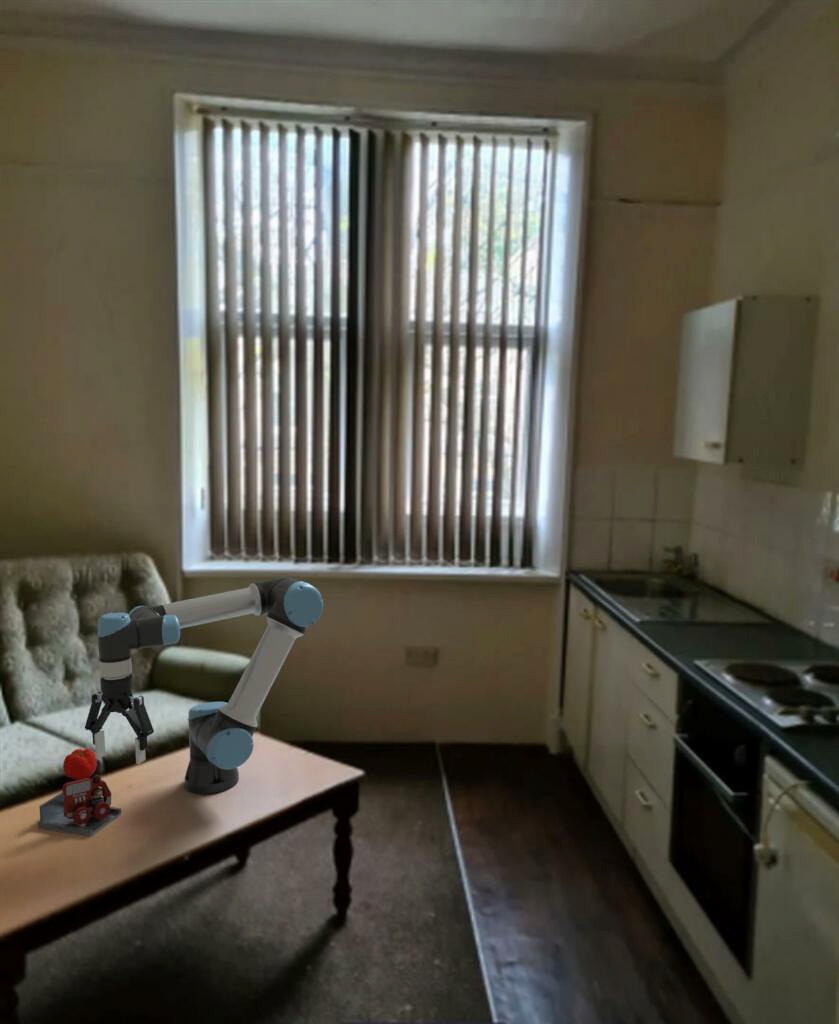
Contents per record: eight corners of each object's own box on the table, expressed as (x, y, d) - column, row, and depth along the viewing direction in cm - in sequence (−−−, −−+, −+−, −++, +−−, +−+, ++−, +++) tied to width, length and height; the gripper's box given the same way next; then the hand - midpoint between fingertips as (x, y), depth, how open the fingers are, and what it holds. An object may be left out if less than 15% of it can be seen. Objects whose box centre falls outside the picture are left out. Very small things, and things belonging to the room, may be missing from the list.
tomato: (76, 785, 216) (75, 760, 215) (58, 779, 221) (56, 754, 220) (105, 773, 224) (104, 749, 223) (86, 767, 229) (85, 743, 228)
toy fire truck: (116, 814, 196) (117, 775, 197) (68, 828, 187) (69, 787, 187) (104, 807, 201) (105, 768, 201) (57, 821, 192) (57, 780, 192)
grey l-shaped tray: (121, 814, 198) (120, 794, 198) (90, 836, 187) (89, 815, 187) (70, 807, 203) (69, 787, 202) (38, 828, 192) (36, 807, 191)
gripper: (166, 674, 188) (170, 758, 190) (87, 667, 195) (91, 748, 197) (147, 683, 181) (151, 770, 183) (66, 676, 188) (71, 760, 190)
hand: (120, 759), depth 190 cm, fingers open, 11 cm apart
